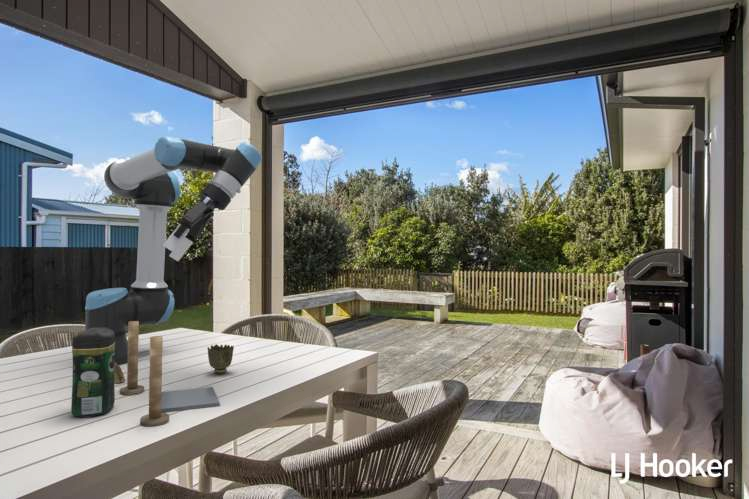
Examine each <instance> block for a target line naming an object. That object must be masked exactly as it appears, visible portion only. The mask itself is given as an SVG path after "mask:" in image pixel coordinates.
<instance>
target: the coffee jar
mask: <svg viewBox="0 0 749 499" xmlns="http://www.w3.org/2000/svg"><path fill="white" fill-rule="evenodd" d="M71 353H72V354H71V355H72V376H71V377H72V378H71V380H72V381H71V384H72V386H71V388H72V389H71V403H70V404H71V410H70V412H71V415H72V416H74V417H79V418H80V417H81V418H91V417H95V416H98V415H103V414H106V413H108V412H109V411H110V410H111V409H112V408H113V406H114V405H115V397H116V395H115V383H114V357H115V333H114V331H112V330H111V329H109V328H107V327H101V328H89V329H88V330H86V331H85V330H84V331H82V332H80V333H78V334H76V335H74V336H72V345H71Z"/></svg>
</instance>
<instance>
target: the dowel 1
mask: <svg viewBox="0 0 749 499" xmlns="http://www.w3.org/2000/svg"><path fill="white" fill-rule="evenodd" d="M139 328H140V325H139V321H130V322H128V327H127V335H128V336H127V340H128V362H127V372H126V373H127V374H126V375H127V378H126V380H127V381H126V386H123V387H121V388H120V389H119V395H121V396H135V395H140V394H143V393H144V392H145V385H139V384H138V382H139V381H138V380H139V379H138V378H139V377H138V376H139V339H140V338H139V336H140V334H139V332H140V329H139Z"/></svg>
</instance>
